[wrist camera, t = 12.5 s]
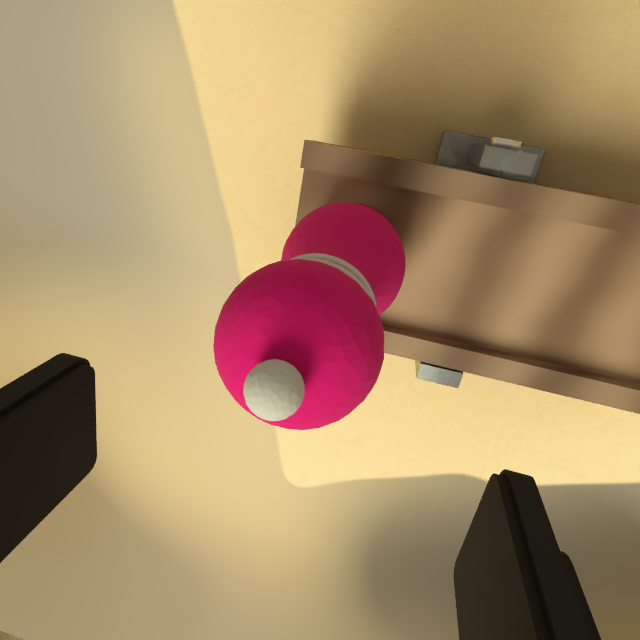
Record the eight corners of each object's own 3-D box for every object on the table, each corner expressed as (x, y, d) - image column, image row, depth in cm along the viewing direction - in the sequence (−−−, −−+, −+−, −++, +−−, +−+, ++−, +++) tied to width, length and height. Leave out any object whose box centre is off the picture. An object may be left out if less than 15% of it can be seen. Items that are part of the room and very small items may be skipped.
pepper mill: (342, 171, 29) (225, 216, 11) (429, 241, 30) (460, 399, 11) (279, 257, 32) (103, 411, 13) (360, 320, 32) (296, 549, 14)
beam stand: (542, 149, 32) (577, 150, 26) (470, 358, 39) (483, 402, 32) (444, 130, 33) (453, 127, 26) (390, 339, 39) (386, 378, 33)
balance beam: (747, 224, 27) (780, 232, 25) (652, 400, 32) (672, 421, 30) (313, 140, 30) (304, 140, 28) (285, 313, 35) (276, 326, 32)
